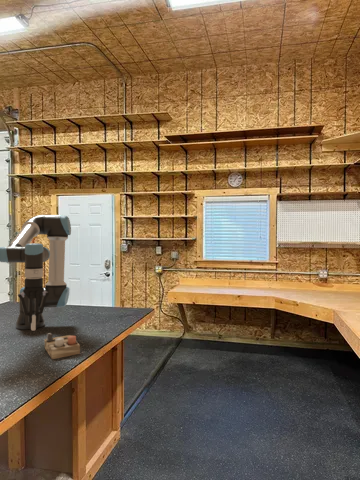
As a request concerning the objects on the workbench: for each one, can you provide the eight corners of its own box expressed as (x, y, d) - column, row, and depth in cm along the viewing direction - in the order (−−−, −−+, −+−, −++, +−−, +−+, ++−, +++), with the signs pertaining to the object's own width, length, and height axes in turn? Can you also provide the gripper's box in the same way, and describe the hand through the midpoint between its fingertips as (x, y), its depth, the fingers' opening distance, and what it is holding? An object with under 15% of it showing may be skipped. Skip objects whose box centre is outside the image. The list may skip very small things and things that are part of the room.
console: (44, 347, 150) (44, 338, 150) (70, 342, 157) (70, 334, 157) (51, 359, 137) (52, 349, 137) (79, 353, 144) (79, 344, 144)
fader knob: (46, 339, 148) (46, 333, 148) (51, 338, 150) (51, 332, 149) (48, 341, 146) (48, 334, 146) (52, 340, 147) (52, 334, 147)
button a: (66, 343, 146) (66, 336, 146) (74, 341, 148) (74, 335, 148) (68, 345, 143) (69, 338, 143) (76, 344, 145) (77, 337, 145)
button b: (54, 345, 143) (54, 338, 143) (62, 344, 145) (62, 337, 145) (56, 348, 140) (56, 340, 140) (64, 346, 142) (64, 339, 142)
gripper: (18, 279, 136) (18, 334, 137) (50, 277, 143) (50, 329, 144) (16, 277, 142) (16, 329, 143) (47, 275, 150) (46, 325, 150)
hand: (33, 329), depth 143 cm, fingers closed
